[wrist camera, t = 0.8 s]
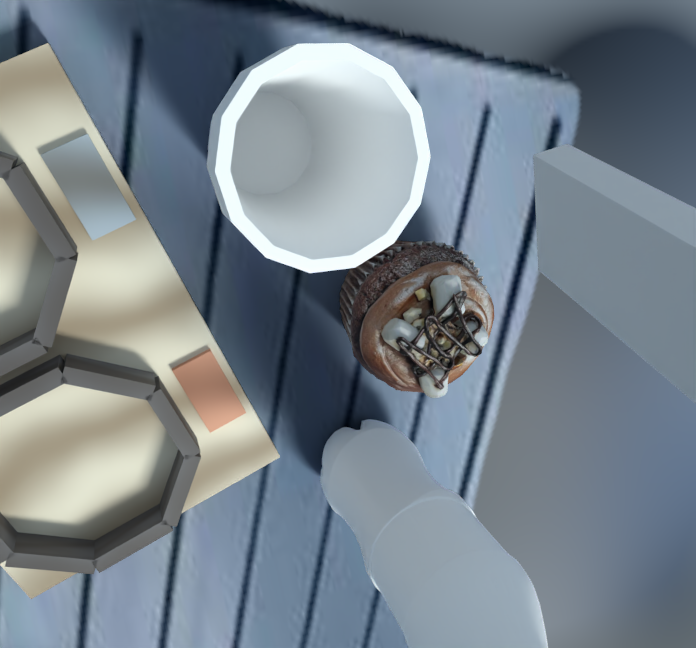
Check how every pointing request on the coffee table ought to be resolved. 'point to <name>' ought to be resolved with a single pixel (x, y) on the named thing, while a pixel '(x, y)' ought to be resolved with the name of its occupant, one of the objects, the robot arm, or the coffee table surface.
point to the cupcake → (416, 315)
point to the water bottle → (427, 546)
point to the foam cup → (319, 156)
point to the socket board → (97, 352)
